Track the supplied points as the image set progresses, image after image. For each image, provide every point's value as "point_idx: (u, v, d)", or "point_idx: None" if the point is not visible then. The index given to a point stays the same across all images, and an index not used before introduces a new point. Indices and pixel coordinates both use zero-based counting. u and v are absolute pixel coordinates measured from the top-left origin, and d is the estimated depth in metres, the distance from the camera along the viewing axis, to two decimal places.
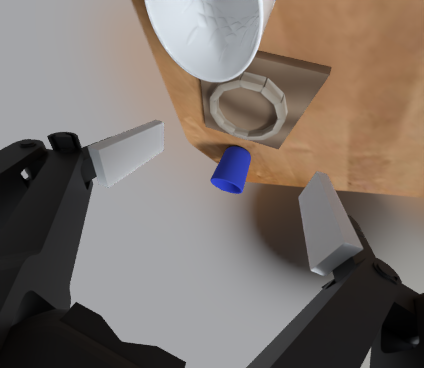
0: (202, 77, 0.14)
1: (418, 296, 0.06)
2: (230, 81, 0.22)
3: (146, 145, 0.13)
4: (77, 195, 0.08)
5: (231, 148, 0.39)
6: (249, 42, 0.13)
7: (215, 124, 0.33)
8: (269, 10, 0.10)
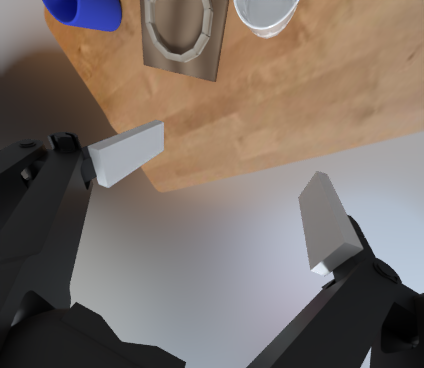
0: None
1: (418, 296, 0.06)
2: None
3: (146, 145, 0.13)
4: (77, 195, 0.08)
5: None
6: (245, 19, 0.22)
7: None
8: (261, 31, 0.21)
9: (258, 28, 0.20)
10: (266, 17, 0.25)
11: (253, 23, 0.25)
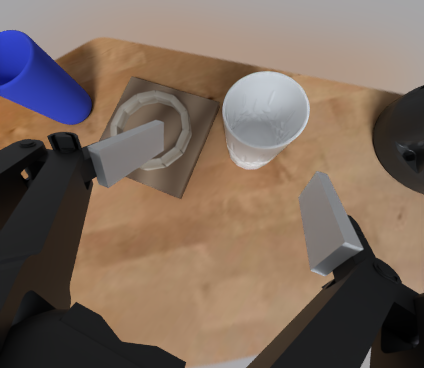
0: (228, 95, 0.16)
1: (418, 296, 0.06)
2: (188, 121, 0.24)
3: (146, 145, 0.13)
4: (77, 195, 0.08)
5: (89, 100, 0.28)
6: None
7: (134, 90, 0.27)
8: (252, 153, 0.16)
9: (253, 146, 0.15)
10: None
11: None
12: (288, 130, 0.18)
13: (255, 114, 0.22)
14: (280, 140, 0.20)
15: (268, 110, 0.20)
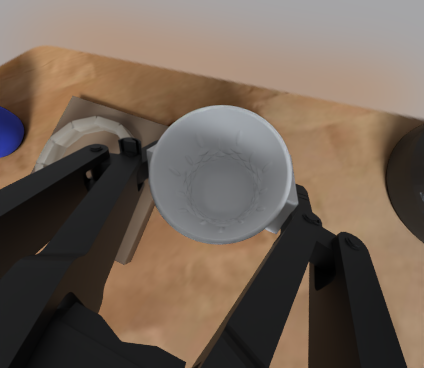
0: (160, 145, 0.10)
1: (334, 238, 0.08)
2: None
3: None
4: (129, 197, 0.08)
5: (17, 126, 0.21)
6: (179, 204, 0.12)
7: (75, 114, 0.21)
8: None
9: (195, 238, 0.08)
10: (216, 200, 0.17)
11: (197, 203, 0.16)
12: (266, 186, 0.12)
13: (223, 153, 0.15)
14: (257, 192, 0.14)
15: (238, 151, 0.14)
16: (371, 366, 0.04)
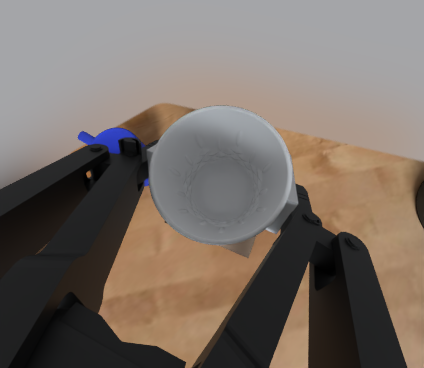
0: (160, 145, 0.10)
1: (334, 238, 0.08)
2: None
3: None
4: (129, 197, 0.08)
5: None
6: (179, 204, 0.12)
7: None
8: None
9: (195, 239, 0.08)
10: (216, 200, 0.17)
11: (197, 203, 0.16)
12: (266, 186, 0.12)
13: (223, 153, 0.15)
14: (257, 193, 0.14)
15: (238, 151, 0.14)
16: (371, 366, 0.04)
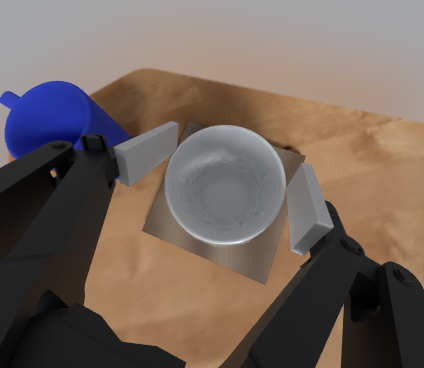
0: (174, 159, 0.11)
1: (379, 267, 0.07)
2: None
3: (163, 145, 0.13)
4: (100, 195, 0.08)
5: None
6: (187, 208, 0.14)
7: None
8: None
9: (204, 239, 0.10)
10: (219, 203, 0.19)
11: (202, 205, 0.18)
12: (264, 192, 0.14)
13: (226, 161, 0.17)
14: (256, 197, 0.16)
15: (239, 160, 0.16)
16: None
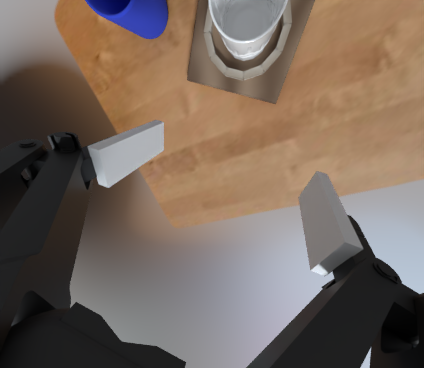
0: None
1: (418, 296, 0.06)
2: (290, 10, 0.22)
3: (146, 145, 0.13)
4: (77, 195, 0.08)
5: None
6: None
7: None
8: (240, 47, 0.19)
9: (237, 41, 0.17)
10: (243, 39, 0.24)
11: None
12: (278, 8, 0.18)
13: None
14: (273, 21, 0.21)
15: None
16: None
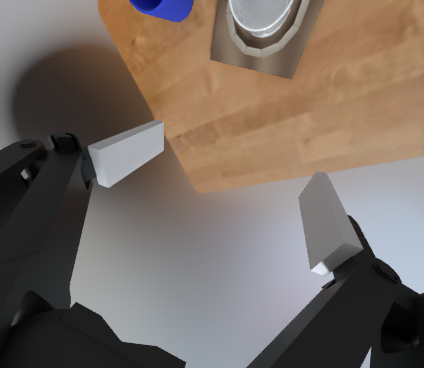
0: None
1: (418, 296, 0.06)
2: None
3: (146, 145, 0.13)
4: (77, 195, 0.08)
5: None
6: (241, 19, 0.23)
7: None
8: (255, 33, 0.22)
9: (252, 30, 0.21)
10: (262, 17, 0.25)
11: (249, 23, 0.26)
12: None
13: None
14: None
15: None
16: None
